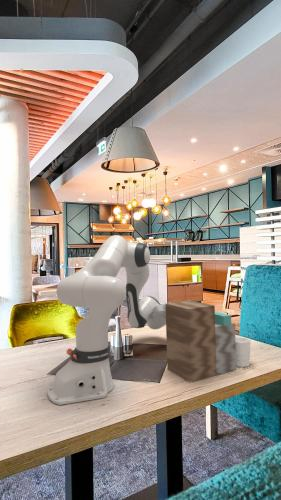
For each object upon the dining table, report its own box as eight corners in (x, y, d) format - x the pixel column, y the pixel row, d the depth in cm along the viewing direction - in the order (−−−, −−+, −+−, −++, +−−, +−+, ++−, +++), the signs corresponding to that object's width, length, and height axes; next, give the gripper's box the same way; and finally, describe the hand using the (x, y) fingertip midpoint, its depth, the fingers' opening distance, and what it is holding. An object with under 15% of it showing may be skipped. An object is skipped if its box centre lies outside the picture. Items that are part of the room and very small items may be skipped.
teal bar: (224, 325, 122) (224, 316, 122) (186, 315, 143) (186, 307, 143) (231, 324, 124) (231, 315, 124) (192, 314, 145) (192, 306, 145)
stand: (190, 382, 115) (188, 309, 115) (167, 369, 128) (165, 303, 128) (236, 369, 125) (234, 302, 125) (210, 358, 138) (208, 298, 138)
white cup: (252, 368, 126) (251, 342, 126) (231, 367, 128) (230, 342, 128) (249, 361, 134) (249, 337, 134) (230, 360, 136) (229, 336, 136)
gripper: (146, 309, 157) (159, 298, 146) (181, 304, 167) (195, 294, 156) (150, 321, 154) (163, 311, 144) (185, 316, 164) (199, 306, 153)
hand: (180, 302), depth 150 cm, fingers open, 8 cm apart
